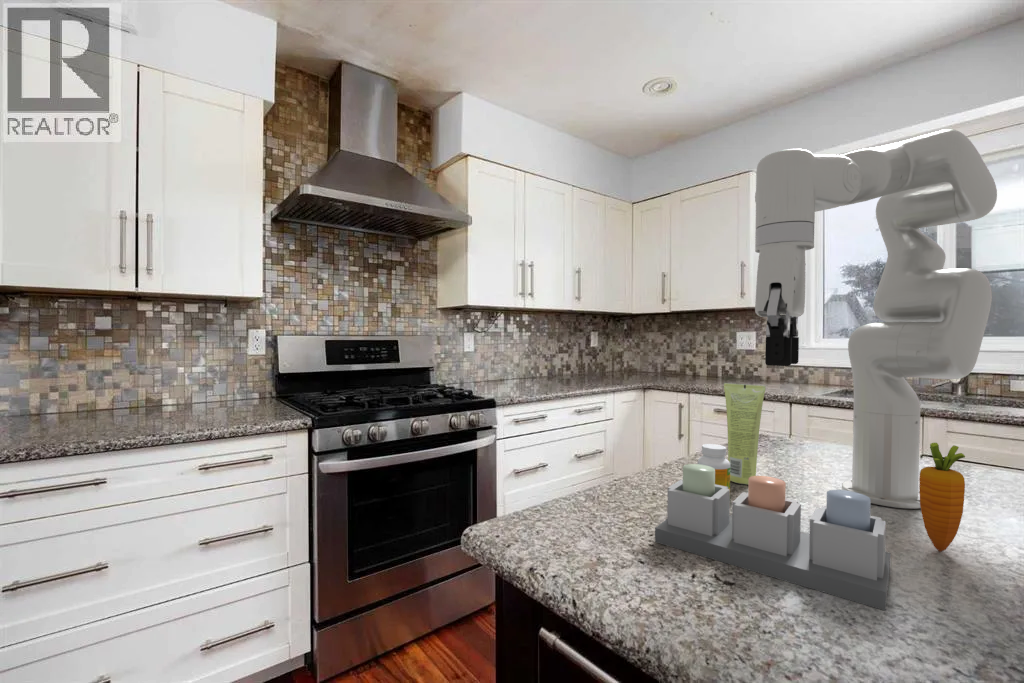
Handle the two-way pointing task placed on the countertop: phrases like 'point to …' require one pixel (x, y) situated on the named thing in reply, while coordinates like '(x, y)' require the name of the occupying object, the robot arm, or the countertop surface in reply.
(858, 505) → the button slate
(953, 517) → the carrot
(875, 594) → the three-cup grey tray
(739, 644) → the countertop surface
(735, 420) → the tube
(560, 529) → the countertop surface
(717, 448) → the supplement bottle
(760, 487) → the button terracotta
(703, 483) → the button sage
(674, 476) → the countertop surface
